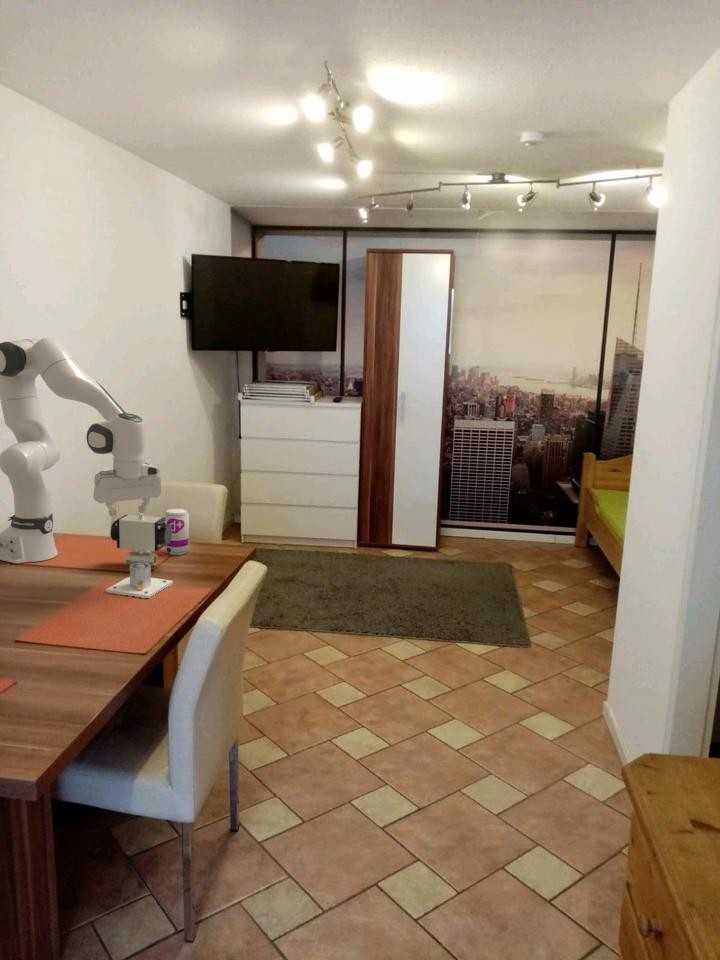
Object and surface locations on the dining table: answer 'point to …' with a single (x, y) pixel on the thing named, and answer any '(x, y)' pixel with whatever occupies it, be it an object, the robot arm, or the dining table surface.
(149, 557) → the ball valve
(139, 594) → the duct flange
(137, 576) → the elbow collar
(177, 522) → the supplement can
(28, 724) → the dining table surface
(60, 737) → the dining table surface
